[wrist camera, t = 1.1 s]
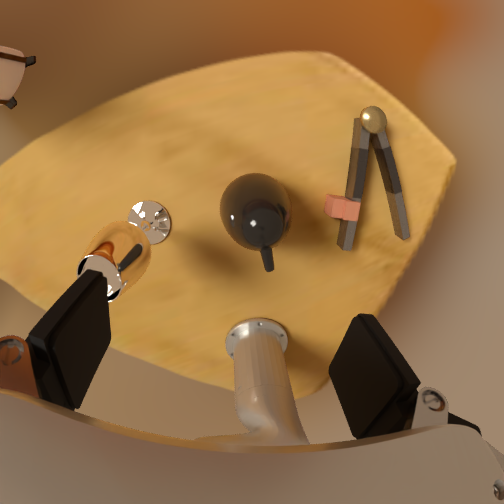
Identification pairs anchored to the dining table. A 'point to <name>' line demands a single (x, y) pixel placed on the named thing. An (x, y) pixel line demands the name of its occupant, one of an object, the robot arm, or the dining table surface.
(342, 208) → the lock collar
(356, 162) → the tongs fixed arm
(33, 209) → the dining table surface
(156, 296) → the dining table surface
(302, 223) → the dining table surface
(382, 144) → the tongs moving arm
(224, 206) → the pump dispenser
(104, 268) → the wineglass
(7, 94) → the coffee press
